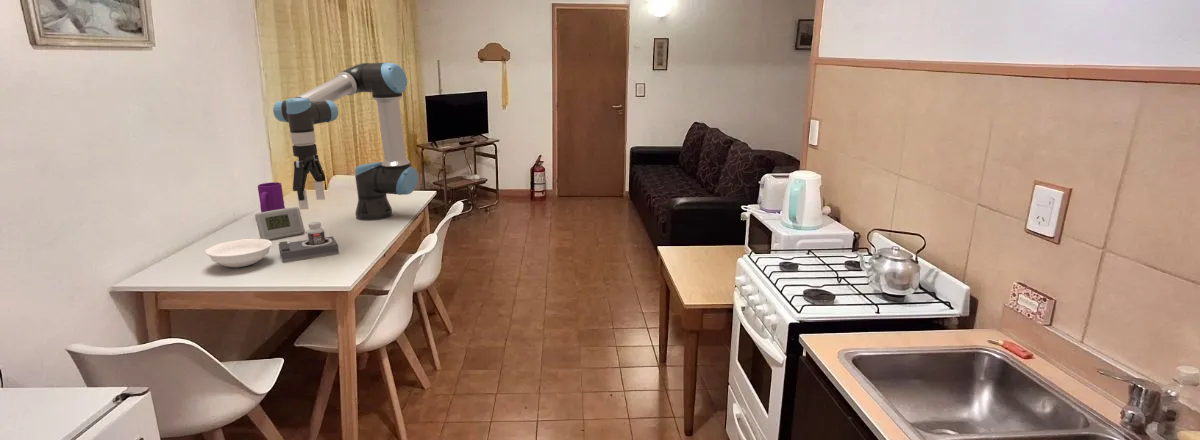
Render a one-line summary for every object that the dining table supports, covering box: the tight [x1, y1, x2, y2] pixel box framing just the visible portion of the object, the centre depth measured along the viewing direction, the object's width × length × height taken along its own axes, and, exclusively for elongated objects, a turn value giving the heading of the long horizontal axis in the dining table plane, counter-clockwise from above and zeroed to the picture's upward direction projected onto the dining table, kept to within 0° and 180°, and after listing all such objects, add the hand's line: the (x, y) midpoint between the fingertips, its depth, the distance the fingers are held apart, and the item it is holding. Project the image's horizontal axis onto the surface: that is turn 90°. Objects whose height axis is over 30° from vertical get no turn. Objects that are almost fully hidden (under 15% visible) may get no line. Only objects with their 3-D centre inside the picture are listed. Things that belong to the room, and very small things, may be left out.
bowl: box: [204, 238, 273, 268], centre depth 215 cm, size 20×20×6 cm
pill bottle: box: [306, 221, 326, 246], centre depth 226 cm, size 5×5×10 cm
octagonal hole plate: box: [278, 236, 340, 263], centre depth 226 cm, size 18×12×4 cm, turn 120°
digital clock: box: [254, 206, 305, 241], centre depth 247 cm, size 16×9×11 cm, turn 121°
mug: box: [257, 182, 286, 213], centre depth 271 cm, size 9×16×15 cm, turn 8°
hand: (312, 204), depth 224 cm, fingers open, 13 cm apart
